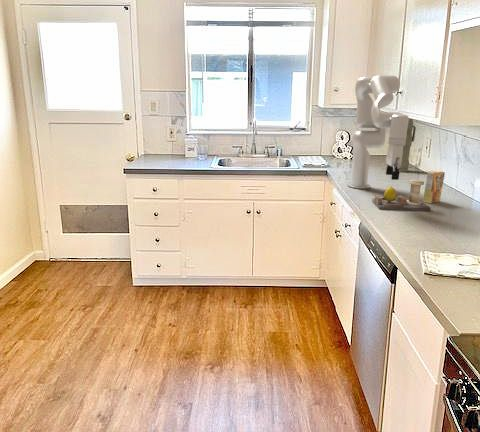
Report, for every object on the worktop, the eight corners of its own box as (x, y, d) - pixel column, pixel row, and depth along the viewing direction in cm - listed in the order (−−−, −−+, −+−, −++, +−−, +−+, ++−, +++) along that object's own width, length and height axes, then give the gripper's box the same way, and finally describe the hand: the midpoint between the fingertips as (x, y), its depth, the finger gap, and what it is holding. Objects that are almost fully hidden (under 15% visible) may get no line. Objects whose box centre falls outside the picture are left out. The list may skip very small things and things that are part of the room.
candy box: (433, 199, 236) (437, 170, 232) (440, 201, 233) (445, 172, 228) (422, 201, 232) (426, 172, 227) (429, 203, 228) (434, 173, 224)
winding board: (372, 201, 229) (373, 192, 228) (420, 203, 229) (421, 194, 227) (379, 209, 216) (380, 200, 215) (430, 211, 215) (431, 201, 214)
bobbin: (403, 201, 225) (406, 179, 222) (418, 202, 225) (421, 180, 222) (408, 205, 218) (411, 182, 215) (422, 205, 218) (426, 183, 215)
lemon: (397, 203, 222) (399, 187, 219) (390, 204, 219) (392, 188, 216) (388, 200, 226) (390, 184, 224) (380, 202, 223) (382, 186, 220)
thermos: (389, 169, 312) (395, 117, 301) (405, 169, 313) (412, 117, 303) (395, 172, 303) (402, 118, 293) (412, 172, 305) (419, 119, 295)
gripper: (384, 138, 222) (379, 172, 227) (394, 144, 205) (388, 181, 211) (399, 138, 221) (394, 173, 227) (410, 144, 205) (405, 181, 211)
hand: (392, 177), depth 219 cm, fingers open, 9 cm apart
